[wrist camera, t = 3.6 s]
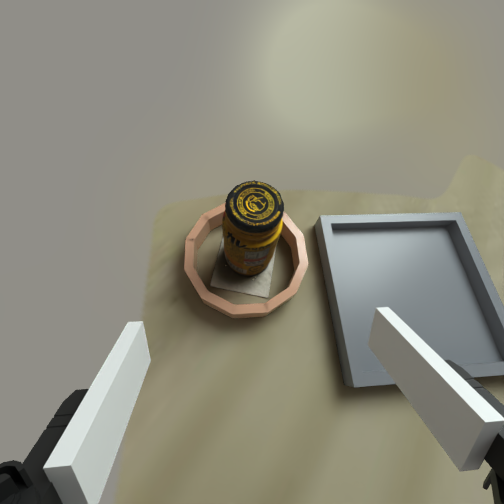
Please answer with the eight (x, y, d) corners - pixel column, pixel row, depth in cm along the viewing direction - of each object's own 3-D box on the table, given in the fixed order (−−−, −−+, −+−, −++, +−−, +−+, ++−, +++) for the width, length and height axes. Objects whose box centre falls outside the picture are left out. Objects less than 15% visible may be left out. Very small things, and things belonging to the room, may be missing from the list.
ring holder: (293, 211, 36) (298, 199, 33) (308, 314, 30) (315, 309, 27) (190, 214, 34) (187, 201, 32) (187, 321, 29) (182, 317, 26)
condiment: (277, 237, 34) (298, 179, 23) (268, 298, 31) (286, 264, 20) (225, 227, 34) (221, 165, 23) (210, 286, 31) (196, 246, 20)
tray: (446, 221, 37) (460, 212, 34) (510, 371, 29) (533, 372, 27) (314, 224, 35) (320, 215, 33) (344, 384, 27) (354, 387, 25)
